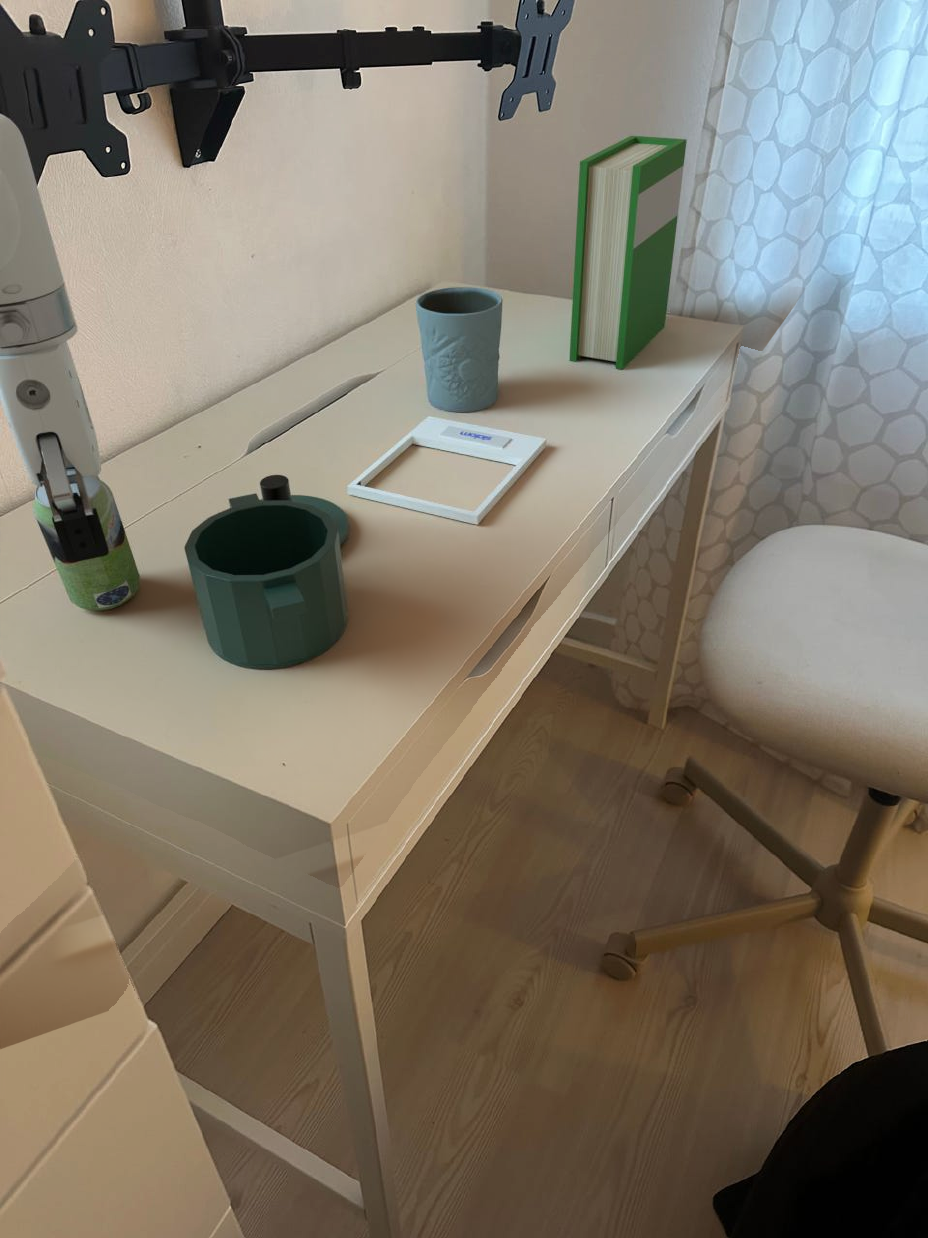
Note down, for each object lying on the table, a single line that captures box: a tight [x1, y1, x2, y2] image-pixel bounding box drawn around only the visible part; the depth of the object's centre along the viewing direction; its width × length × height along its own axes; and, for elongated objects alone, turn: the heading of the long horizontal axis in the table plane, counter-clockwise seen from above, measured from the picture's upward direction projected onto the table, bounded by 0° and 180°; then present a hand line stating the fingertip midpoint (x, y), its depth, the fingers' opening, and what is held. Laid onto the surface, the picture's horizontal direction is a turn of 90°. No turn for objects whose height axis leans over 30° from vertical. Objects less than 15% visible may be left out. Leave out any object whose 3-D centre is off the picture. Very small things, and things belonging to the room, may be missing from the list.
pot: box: [183, 492, 349, 670], centre depth 72 cm, size 12×17×8 cm
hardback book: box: [569, 135, 688, 370], centre depth 116 cm, size 18×7×24 cm, turn 152°
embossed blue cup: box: [414, 286, 504, 413], centre depth 106 cm, size 10×10×12 cm
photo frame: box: [346, 415, 547, 526], centre depth 95 cm, size 15×1×18 cm
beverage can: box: [32, 469, 141, 611], centre depth 74 cm, size 6×7×12 cm
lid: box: [259, 474, 350, 547], centre depth 83 cm, size 13×13×6 cm
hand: (85, 534), depth 73 cm, fingers closed on beverage can, 6 cm apart
